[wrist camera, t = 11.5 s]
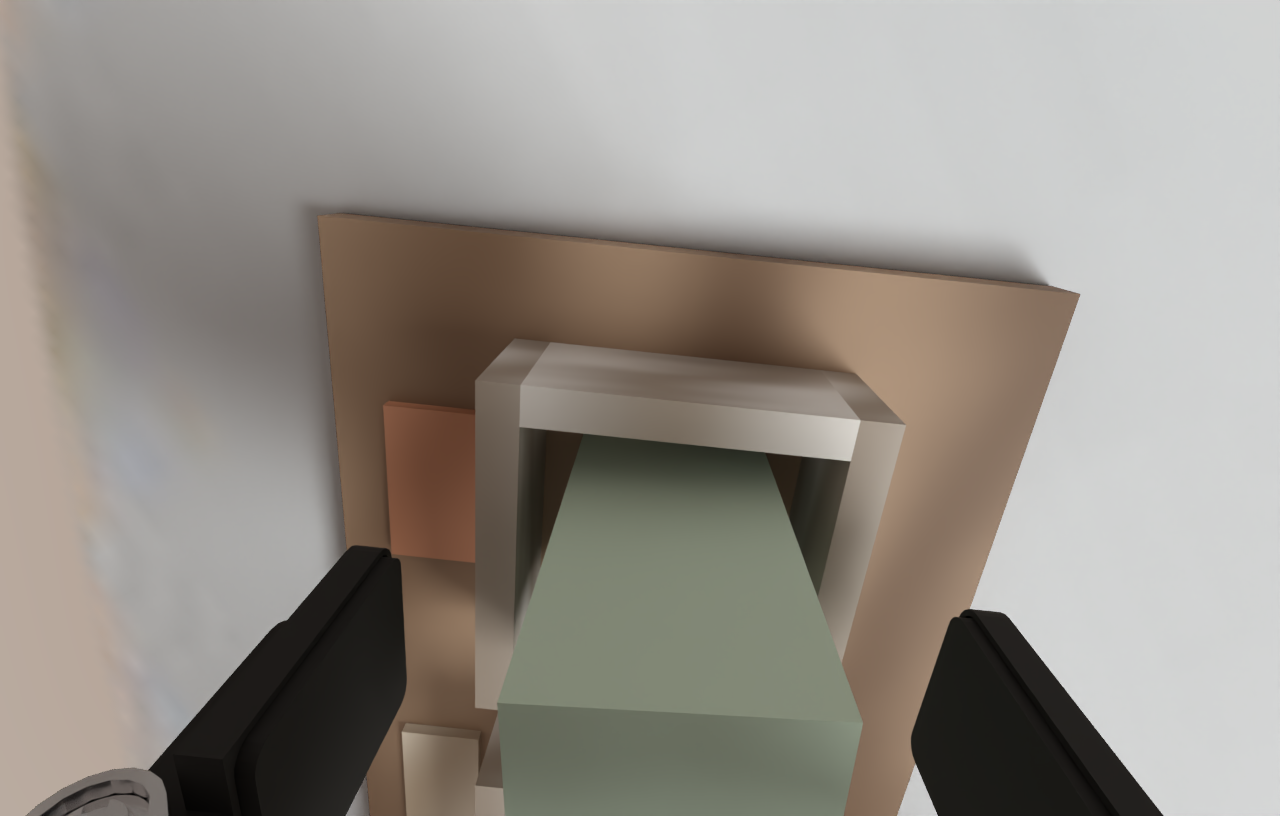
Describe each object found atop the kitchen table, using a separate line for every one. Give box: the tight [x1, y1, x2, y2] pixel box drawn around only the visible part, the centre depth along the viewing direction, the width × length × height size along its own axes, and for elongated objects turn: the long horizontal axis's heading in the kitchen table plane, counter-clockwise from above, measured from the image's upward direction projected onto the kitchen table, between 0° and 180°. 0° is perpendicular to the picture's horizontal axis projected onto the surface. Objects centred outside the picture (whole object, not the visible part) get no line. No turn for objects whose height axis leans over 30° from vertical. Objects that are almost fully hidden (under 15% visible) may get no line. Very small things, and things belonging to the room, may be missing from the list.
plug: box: [497, 434, 863, 816], centre depth 11 cm, size 4×4×8 cm
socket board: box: [317, 213, 1080, 816], centre depth 16 cm, size 16×22×4 cm
